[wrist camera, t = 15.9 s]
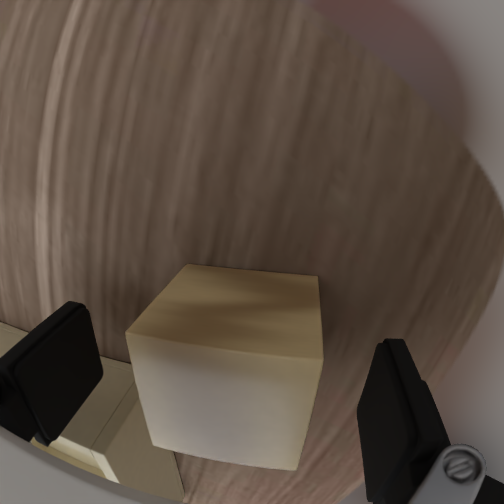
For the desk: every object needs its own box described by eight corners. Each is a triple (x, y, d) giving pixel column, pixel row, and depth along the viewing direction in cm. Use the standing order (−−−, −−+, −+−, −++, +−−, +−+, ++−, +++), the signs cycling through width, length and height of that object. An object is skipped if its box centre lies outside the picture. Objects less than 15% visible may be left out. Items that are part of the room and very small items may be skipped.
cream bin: (156, 369, 13) (104, 455, 8) (185, 494, 17) (164, 550, 12) (-11, 316, 14) (-63, 356, 10) (48, 442, 18) (19, 481, 14)
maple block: (318, 275, 10) (324, 360, 6) (302, 378, 12) (297, 471, 8) (186, 263, 11) (123, 332, 7) (192, 364, 12) (152, 446, 8)
